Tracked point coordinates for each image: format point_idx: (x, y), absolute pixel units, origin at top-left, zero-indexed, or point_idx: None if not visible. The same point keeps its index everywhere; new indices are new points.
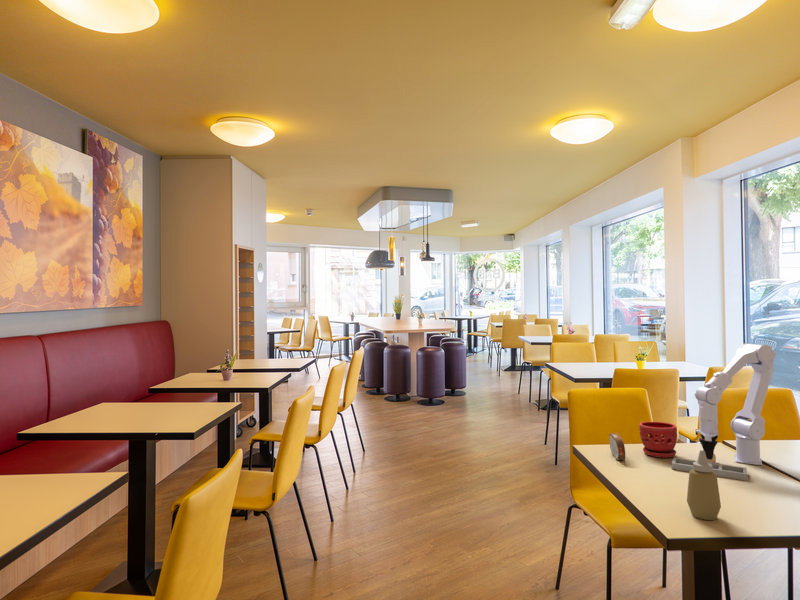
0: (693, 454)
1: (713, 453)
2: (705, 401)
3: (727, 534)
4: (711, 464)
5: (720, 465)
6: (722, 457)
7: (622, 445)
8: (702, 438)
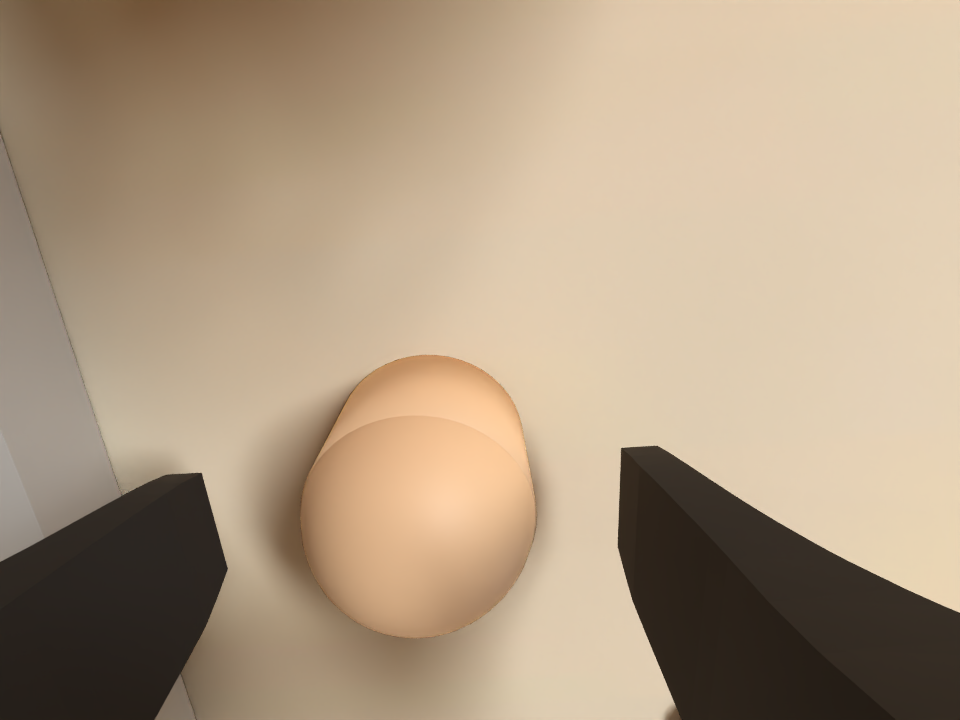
0: (923, 142)
1: (401, 636)
2: None
3: None
4: (15, 549)
5: None
6: (894, 561)
7: None
8: (865, 714)
